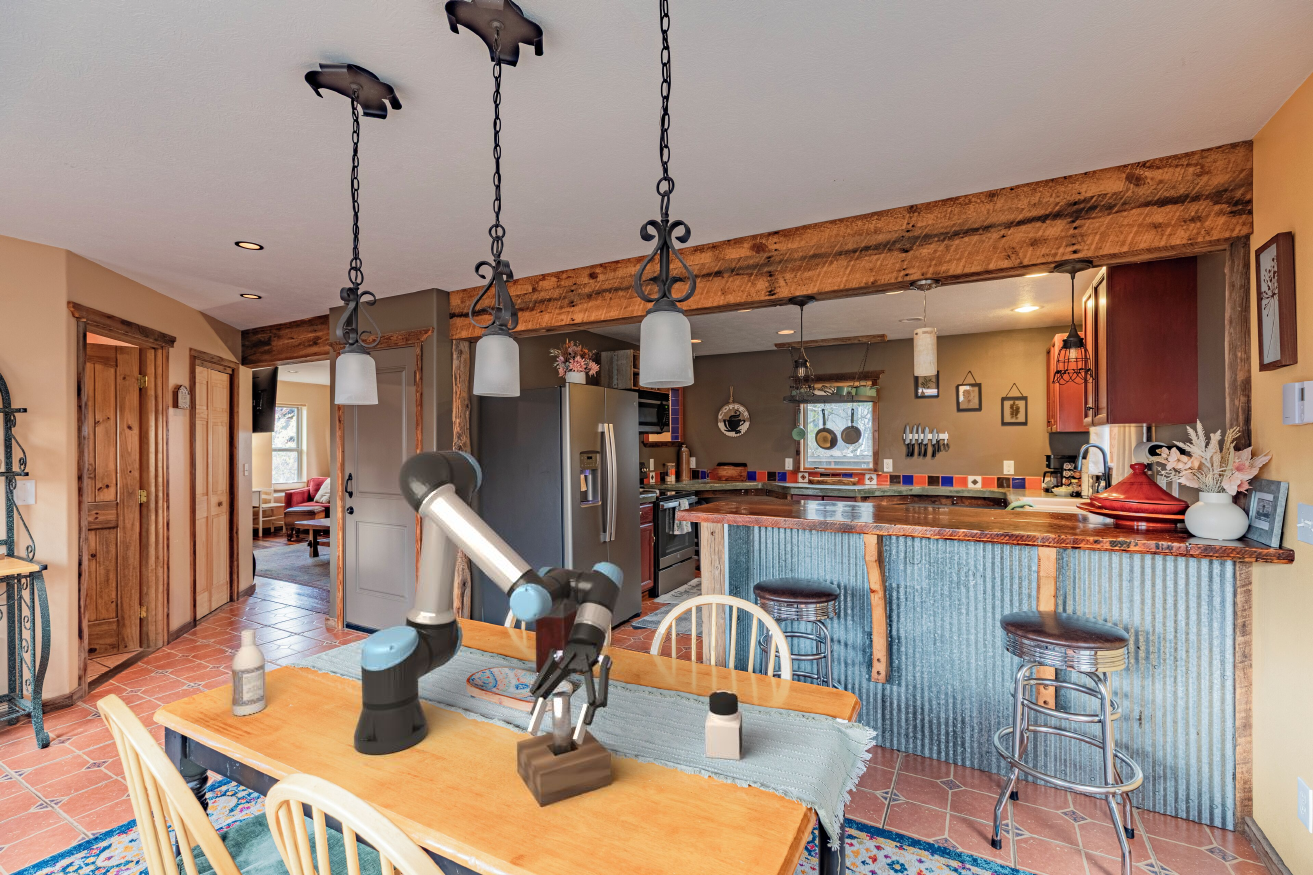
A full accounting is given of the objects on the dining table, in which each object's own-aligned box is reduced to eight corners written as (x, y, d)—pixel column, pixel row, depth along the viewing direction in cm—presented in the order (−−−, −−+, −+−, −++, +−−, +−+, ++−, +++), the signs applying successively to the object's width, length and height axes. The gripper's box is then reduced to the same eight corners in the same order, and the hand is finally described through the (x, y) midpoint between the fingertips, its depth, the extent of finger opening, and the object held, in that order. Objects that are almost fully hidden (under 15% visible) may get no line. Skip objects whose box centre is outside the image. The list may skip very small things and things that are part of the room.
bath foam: (236, 707, 156) (234, 628, 156) (268, 702, 159) (266, 625, 159) (229, 719, 150) (228, 636, 150) (262, 713, 153) (261, 632, 153)
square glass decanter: (581, 664, 182) (579, 569, 182) (564, 678, 172) (562, 577, 172) (554, 661, 185) (552, 568, 185) (535, 675, 174) (534, 576, 174)
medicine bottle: (740, 760, 126) (739, 702, 126) (705, 758, 127) (704, 699, 127) (742, 744, 133) (741, 688, 133) (709, 741, 134) (708, 686, 134)
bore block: (517, 771, 123) (516, 741, 123) (582, 753, 130) (581, 724, 130) (540, 807, 111) (540, 773, 111) (611, 784, 118) (610, 753, 118)
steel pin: (550, 765, 121) (549, 694, 122) (568, 760, 123) (566, 690, 123) (557, 773, 118) (555, 700, 118) (575, 768, 120) (573, 696, 120)
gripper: (641, 643, 131) (612, 753, 116) (551, 634, 139) (513, 736, 124) (631, 625, 126) (599, 738, 111) (538, 616, 134) (497, 721, 119)
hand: (554, 737), depth 118 cm, fingers open, 9 cm apart
